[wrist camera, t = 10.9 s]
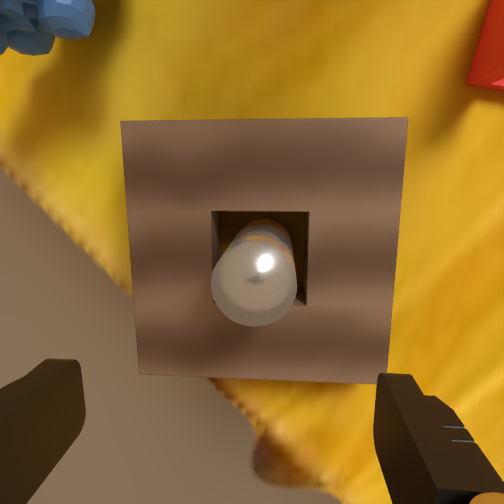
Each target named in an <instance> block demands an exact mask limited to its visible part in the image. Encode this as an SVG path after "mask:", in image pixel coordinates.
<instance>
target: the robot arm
mask: <svg viewBox="0 0 504 504" xmlns="http://www.w3.org/2000/svg"><path fill="white" fill-rule="evenodd" d="M85 412H86V409H85V400H84V391H83V383H82V374H81V367H80V364H79V362H78V361H77V360H72V359H46V360H44V361H43V362H42V363H40V364H39V365H38V366H37V367H35V368H34V369H33V370H32V371H31V372H29V373H28V374H27V375H25V376H24V377H22V378H20V379H18V380H16V381H14V382H12V383H10V384H8V385H6V386H4V387H2V388H1V389H0V504H27V502H28V501H29V500H30V498H31V497H32V496H33V494H34V493H35V492H36V490H37V489H38V488H39V487H40V485H41V484H42V483H43V481H44V480H45V479H46V477H47V476H48V474H49V473H50V472H51V471H52V470H53V468H54V467H55V466H56V464H57V463H58V461H59V460H60V459H61V458H62V456H63V455H64V454H65V453H66V451H67V450H68V449H69V447H70V446H71V445H72V443H73V442H74V441H75V439H76V438H77V437H78V435H79V434H80V432H81V430H82V427H83V425H84V421H85V415H86V413H85ZM373 434H374V444H375V450H376V454H377V457H378V460H379V463H380V466H381V469H382V473H383V476H384V479H385V482H386V485H387V488H388V491H389V494H390V497H391V500H392V503H393V504H504V482H503V481H502V479H501V478H500V476H499V475H498V473H497V472H496V471H495V469H494V468H493V466H492V465H491V463H490V462H489V461H488V459H487V458H486V456H485V455H484V453H483V452H482V451H481V449H480V448H479V446H478V445H477V444H476V443H474V439H473V438H472V436H471V435H470V433H469V432H468V430H467V429H465V428H464V425H463V423H462V422H461V420H460V419H459V418H458V416H457V415H456V413H455V412H454V410H453V409H451V408H450V407H449V406H447V405H446V404H445V403H443V402H442V401H441V400H440V399H438V398H437V397H436V396H427V395H424V394H423V393H422V391H421V389H420V388H419V386H418V385H417V383H416V381H415V380H414V378H413V377H412V375H410V374H394V373H380V374H379V375H378V379H377V388H376V400H375V413H374V426H373Z"/></svg>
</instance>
